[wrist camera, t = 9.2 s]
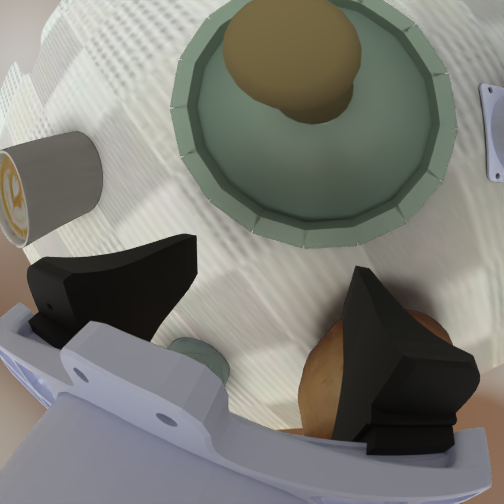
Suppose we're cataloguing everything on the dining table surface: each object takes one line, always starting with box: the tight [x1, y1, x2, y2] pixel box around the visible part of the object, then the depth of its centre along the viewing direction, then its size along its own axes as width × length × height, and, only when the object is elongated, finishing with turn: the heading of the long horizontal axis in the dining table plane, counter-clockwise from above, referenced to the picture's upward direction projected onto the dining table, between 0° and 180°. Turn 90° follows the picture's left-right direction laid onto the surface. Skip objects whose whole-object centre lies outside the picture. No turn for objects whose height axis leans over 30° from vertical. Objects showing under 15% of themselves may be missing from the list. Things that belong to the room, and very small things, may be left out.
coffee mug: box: [0, 132, 103, 248], centre depth 22 cm, size 13×10×10 cm
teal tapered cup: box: [167, 338, 229, 387], centre depth 28 cm, size 10×10×12 cm
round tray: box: [170, 0, 457, 249], centre depth 16 cm, size 20×20×2 cm
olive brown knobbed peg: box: [222, 0, 362, 125], centre depth 11 cm, size 6×6×11 cm
